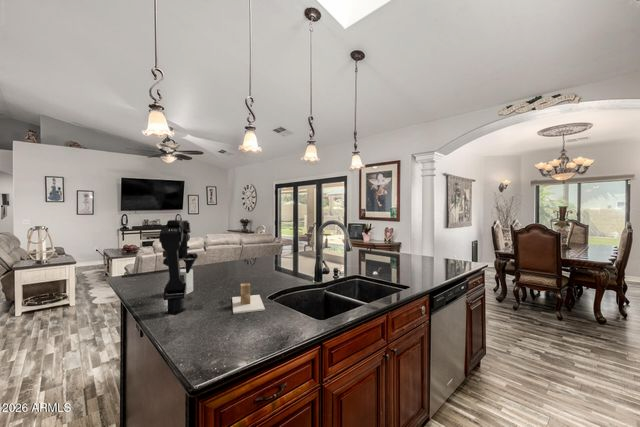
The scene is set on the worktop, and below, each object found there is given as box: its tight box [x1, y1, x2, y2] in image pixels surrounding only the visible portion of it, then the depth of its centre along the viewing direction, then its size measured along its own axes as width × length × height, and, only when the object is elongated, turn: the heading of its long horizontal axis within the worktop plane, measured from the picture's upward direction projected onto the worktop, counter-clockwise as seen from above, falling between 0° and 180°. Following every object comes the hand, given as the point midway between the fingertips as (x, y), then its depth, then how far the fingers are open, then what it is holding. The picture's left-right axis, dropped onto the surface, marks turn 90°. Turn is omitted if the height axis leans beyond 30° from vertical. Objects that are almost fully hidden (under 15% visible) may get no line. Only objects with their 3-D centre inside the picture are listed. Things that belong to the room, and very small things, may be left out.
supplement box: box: [180, 268, 194, 295], centre depth 155 cm, size 7×7×13 cm
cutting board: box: [231, 294, 266, 314], centre depth 137 cm, size 14×22×1 cm, turn 19°
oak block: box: [240, 282, 251, 305], centre depth 136 cm, size 4×4×9 cm
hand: (181, 275), depth 142 cm, fingers open, 9 cm apart
